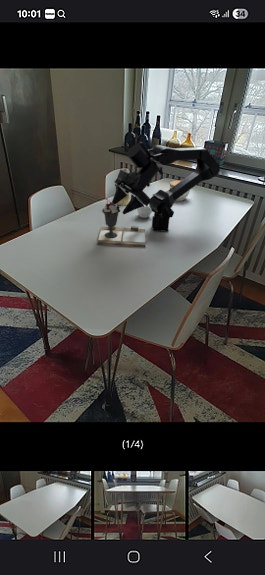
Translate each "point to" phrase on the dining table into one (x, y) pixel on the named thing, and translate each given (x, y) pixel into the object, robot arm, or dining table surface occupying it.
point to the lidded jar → (183, 194)
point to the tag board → (123, 237)
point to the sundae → (111, 217)
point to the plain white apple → (144, 211)
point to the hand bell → (124, 199)
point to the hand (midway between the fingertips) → (117, 209)
